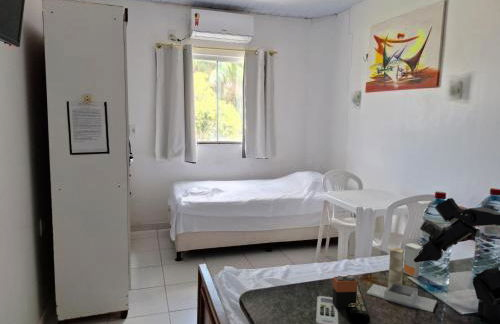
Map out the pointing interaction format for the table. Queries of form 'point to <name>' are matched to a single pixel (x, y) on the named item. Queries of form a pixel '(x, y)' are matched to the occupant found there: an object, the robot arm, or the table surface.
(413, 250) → the skincare box
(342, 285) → the battery
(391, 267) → the ash hinge pin
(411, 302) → the grey base plate
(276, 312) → the table surface
